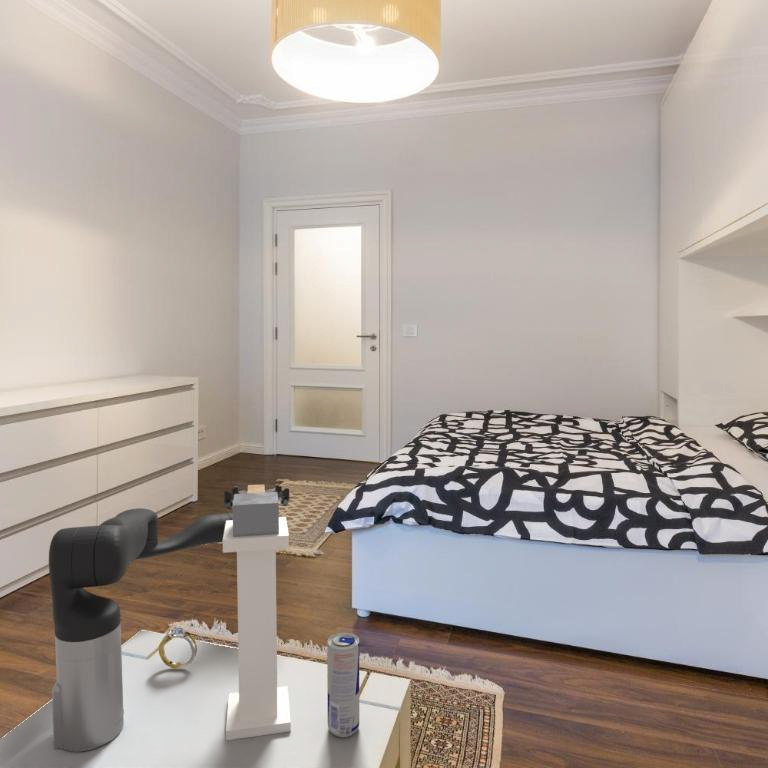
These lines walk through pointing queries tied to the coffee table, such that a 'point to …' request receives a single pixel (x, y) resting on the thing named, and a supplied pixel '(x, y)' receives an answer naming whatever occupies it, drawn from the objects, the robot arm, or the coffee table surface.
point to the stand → (257, 637)
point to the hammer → (255, 512)
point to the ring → (177, 634)
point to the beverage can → (343, 684)
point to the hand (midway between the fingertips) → (256, 489)
